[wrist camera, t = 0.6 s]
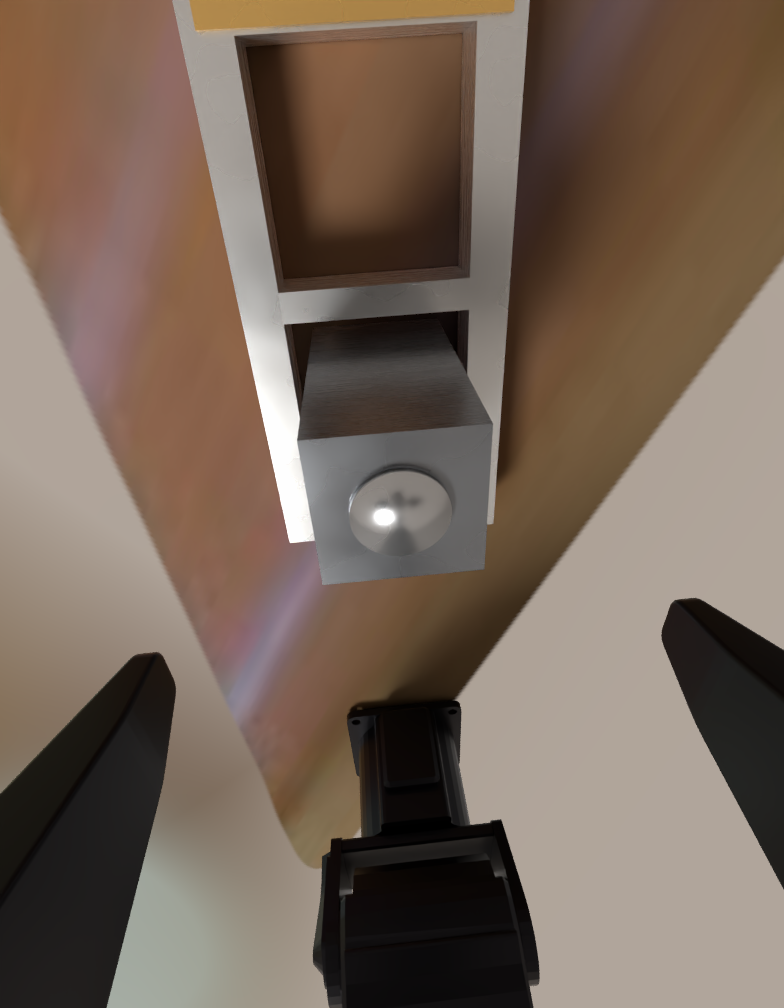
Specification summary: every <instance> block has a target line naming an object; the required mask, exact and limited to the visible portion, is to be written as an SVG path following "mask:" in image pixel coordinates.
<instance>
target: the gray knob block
mask: <svg viewBox="0 0 784 1008" xmlns="http://www.w3.org/2000/svg"><path fill="white" fill-rule="evenodd" d="M492 434H493V422H492V421H491V419H490V417H489V415H488V413H487V411H486V409H485V407H484V405H483V404H482V402H481V400H480V398H479V396H478V394H477V392H476V390H475V388H474V387H473V385H472V383H471V381H470V379H469V377H468V375H467V373H466V371H465V370H464V368H463V366H462V364H461V362H460V360H459V358H458V356H457V354H456V353H455V351H454V349H453V347H452V345H451V343H450V341H449V339H448V337H447V336H446V334H445V332H444V330H443V328H442V326H441V324H440V322H439V320H438V319H437V318H430V319H417V320H405V321H392V322H380V323H368V324H355V325H343V326H330V327H318V328H313V331H312V338H311V345H310V352H309V359H308V366H307V373H306V380H305V387H304V394H303V401H302V408H301V415H300V422H299V429H298V436H297V444H298V450H299V455H300V461H301V466H302V472H303V477H304V483H305V489H306V494H307V500H308V505H309V511H310V516H311V522H312V527H313V533H314V538H315V544H316V549H317V555H318V560H319V566H320V571H321V577H322V583H323V585H328V584H338V583H349V582H359V581H369V580H380V579H390V578H400V577H411V576H421V575H431V574H442V573H452V572H462V571H473V570H483V569H484V565H485V549H486V532H487V516H488V500H489V483H490V467H491V451H492Z"/></svg>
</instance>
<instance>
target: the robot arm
mask: <svg viewBox="0 0 784 1008" xmlns="http://www.w3.org/2000/svg"><path fill="white" fill-rule="evenodd" d="M661 636H662V642H663V645H664V648H665V650H666V652H667V655H668V658H669V660H670V662H671V665H672V667H673V670H674V672H675V675H676V677H677V680H678V682H679V685H680V687H681V690H682V692H683V694H684V697H685V699H686V702H687V704H688V707H689V709H690V711H691V714H692V716H693V718H694V720H695V723H696V725H697V727H698V729H699V731H700V733H701V735H702V737H703V739H704V741H705V743H706V744H707V746H708V748H709V750H710V752H711V754H712V756H713V758H714V759H715V761H716V763H717V765H718V767H719V769H720V771H721V773H722V774H723V776H724V778H725V780H726V782H727V784H728V786H729V788H730V789H731V791H732V793H733V795H734V797H735V799H736V801H737V802H738V805H739V806H740V808H741V810H742V812H743V814H744V816H745V818H746V819H747V821H748V823H749V825H750V827H751V828H752V831H753V832H754V835H755V836H756V838H757V840H758V842H759V844H760V846H761V848H762V850H763V851H764V853H765V855H766V857H767V859H768V861H769V863H770V865H771V866H772V868H773V870H774V872H775V874H776V876H777V878H778V879H779V881H780V883H781V885H782V887H783V889H784V650H783V649H781V648H779V647H778V646H776V645H775V644H773V643H771V642H770V641H768V640H766V639H765V638H763V637H761V636H760V635H758V634H757V633H755V632H753V631H752V630H750V629H748V628H747V627H745V626H743V625H742V624H740V623H738V622H737V621H735V620H734V619H732V618H730V617H729V616H727V615H725V614H724V613H722V612H720V611H719V610H717V609H715V608H714V607H712V606H711V605H709V604H707V603H706V602H704V601H702V600H700V599H697V598H689V599H679V600H675V601H674V602H673V603H672V604H671V605H670V608H669V611H668V615H667V617H666V620H665V623H664V625H663V628H662V635H661ZM175 696H176V686H175V682H174V679H173V677H172V675H171V672H170V670H169V668H168V666H167V664H166V662H165V660H164V658H163V656H162V655H161V654H160V653H158V652H153V653H143V654H137V655H135V656H133V657H132V658H131V659H130V660H129V661H128V662H127V663H126V664H125V665H124V666H123V667H122V668H121V669H120V670H119V671H118V672H117V673H116V674H115V675H114V676H113V677H112V678H111V679H110V680H109V682H107V683H106V685H105V686H104V687H103V688H102V689H101V690H100V691H99V692H98V693H97V694H96V695H95V696H94V697H93V698H92V699H91V700H90V701H89V702H88V703H87V705H85V707H84V708H82V709H81V710H80V712H79V713H78V714H77V715H76V716H75V717H74V718H73V719H72V720H71V721H70V722H69V723H68V724H67V725H66V726H65V727H64V728H63V729H62V730H61V731H60V732H59V733H58V734H57V735H56V737H55V738H53V740H52V741H51V742H50V743H49V744H48V745H47V746H46V747H45V748H44V749H43V750H42V751H41V752H40V753H39V754H38V755H37V756H36V757H35V758H34V759H33V760H32V761H31V762H30V763H29V764H28V765H27V766H26V768H25V769H24V770H23V771H22V772H21V773H20V774H19V775H18V776H17V777H16V778H15V779H14V780H13V781H12V782H11V783H10V784H9V785H8V786H7V787H6V788H5V789H4V790H3V792H2V793H0V1008H106V1007H107V1004H108V999H109V996H110V992H111V988H112V984H113V980H114V976H115V972H116V968H117V964H118V960H119V956H120V952H121V948H122V944H123V940H124V936H125V932H126V928H127V924H128V920H129V917H130V912H131V909H132V905H133V901H134V896H135V893H136V889H137V885H138V881H139V877H140V873H141V869H142V865H143V861H144V857H145V853H146V849H147V845H148V841H149V837H150V834H151V829H152V826H153V822H154V817H155V814H156V809H157V806H158V802H159V797H160V793H161V789H162V785H163V780H164V773H165V767H166V760H167V753H168V746H169V738H170V732H171V724H172V717H173V710H174V703H175ZM347 725H348V730H349V736H350V741H351V747H352V752H353V758H354V763H355V769H356V774H357V776H359V777H360V805H361V836H362V837H361V838H352V839H343V840H342V838H334V839H331V850H330V852H329V853H327V854H326V855H324V856H322V884H321V898H320V906H319V913H318V919H317V926H316V933H315V940H314V947H313V963H314V965H315V967H316V968H317V969H318V970H319V971H320V973H321V974H322V975H323V977H324V985H325V989H327V996H328V1003H329V1007H330V1008H533V1003H532V998H531V992H530V986H535V985H538V984H539V961H538V954H537V947H536V941H535V935H534V931H533V926H532V921H531V917H530V913H529V909H528V905H527V902H526V898H525V895H524V892H523V888H522V885H521V882H520V879H519V875H518V872H517V869H516V866H515V862H514V860H513V856H512V853H511V850H510V847H509V843H508V840H507V837H506V833H505V830H504V827H503V824H502V821H501V819H500V820H492V821H491V822H490V823H483V824H475V825H470V821H469V816H468V810H467V805H466V800H465V794H464V789H463V784H462V779H461V773H460V768H459V761H460V734H461V707H460V703H459V702H458V701H443V702H433V703H424V704H415V705H405V706H396V707H386V708H377V709H367V710H358V711H352V712H350V713H349V714H348V715H347ZM352 889H353V894H352Z"/></svg>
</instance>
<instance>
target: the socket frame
mask: <svg viewBox="0 0 784 1008" xmlns="http://www.w3.org/2000/svg"><path fill="white" fill-rule="evenodd" d="M172 1H173V6H174V10H175V15H176V19H177V24H178V29H179V33H180V38H181V42H182V47H183V52H184V56H185V61H186V66H187V70H188V75H189V79H190V84H191V89H192V93H193V98H194V102H195V107H196V112H197V116H198V121H199V126H200V130H201V135H202V139H203V144H204V149H205V153H206V158H207V162H208V167H209V172H210V176H211V181H212V185H213V190H214V195H215V199H216V204H217V209H218V213H219V218H220V222H221V227H222V232H223V236H224V241H225V245H226V250H227V255H228V259H229V264H230V269H231V273H232V278H233V282H234V287H235V292H236V296H237V301H238V305H239V310H240V315H241V319H242V324H243V328H244V333H245V338H246V342H247V347H248V352H249V356H250V361H251V365H252V370H253V375H254V379H255V384H256V388H257V393H258V398H259V402H260V407H261V412H262V416H263V421H264V425H265V430H266V435H267V439H268V444H269V448H270V453H271V458H272V462H273V467H274V472H275V476H276V481H277V485H278V490H279V495H280V499H281V504H282V508H283V513H284V518H285V522H286V527H287V531H288V536H289V541H290V543H294V542H305V541H315V538H314V533H313V527H312V522H311V516H310V511H309V505H308V500H307V494H306V489H305V483H304V477H303V472H302V466H301V461H300V455H299V450H298V444H297V436H298V429H299V422H300V415H301V408H302V401H303V394H302V388H301V382H300V376H299V369H298V363H297V357H296V351H295V345H294V339H293V333H292V327H291V324H297V323H310V322H322V321H334V320H347V319H359V318H372V317H384V316H397V315H409V314H422V313H434V312H447V311H458V339H457V356H458V358H459V360H460V362H461V364H462V366H463V368H464V370H465V371H466V373H467V375H468V377H469V379H470V381H471V383H472V385H473V387H474V388H475V390H476V392H477V394H478V396H479V398H480V400H481V402H482V404H483V405H484V407H485V409H486V411H487V413H488V415H489V417H490V419H491V421H492V422H493V434H492V451H491V467H490V483H489V500H488V516H487V524H493V519H494V505H495V491H496V476H497V462H498V447H499V433H500V419H501V404H502V390H503V376H504V361H505V347H506V333H507V318H508V304H509V289H510V275H511V261H512V246H513V232H514V218H515V203H516V189H517V174H518V160H519V146H520V131H521V117H522V103H523V88H524V74H525V60H526V45H527V31H528V16H529V2H530V0H172ZM458 33H462V92H461V153H460V215H459V266H448V267H435V268H422V269H409V270H396V271H384V272H371V273H358V274H345V275H332V276H319V277H306V278H293V279H284V278H283V272H282V266H281V260H280V254H279V248H278V242H277V236H276V229H275V223H274V217H273V211H272V205H271V199H270V193H269V187H268V181H267V175H266V169H265V162H264V156H263V150H262V144H261V138H260V132H259V126H258V120H257V114H256V108H255V102H254V95H253V89H252V83H251V77H250V71H249V65H248V59H247V53H246V47H248V46H264V45H280V44H296V43H313V42H329V41H345V40H361V39H377V38H393V37H409V36H425V35H442V34H458Z"/></svg>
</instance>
